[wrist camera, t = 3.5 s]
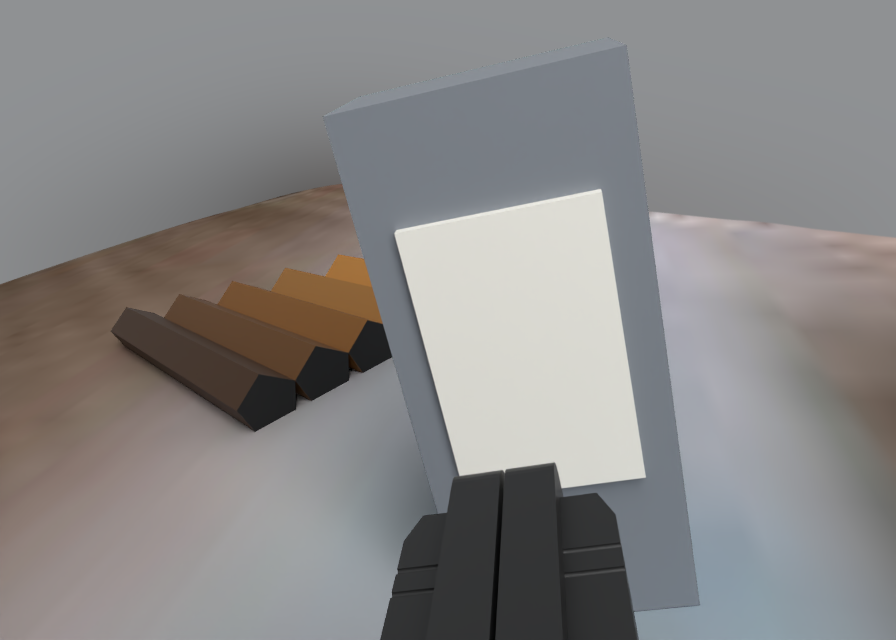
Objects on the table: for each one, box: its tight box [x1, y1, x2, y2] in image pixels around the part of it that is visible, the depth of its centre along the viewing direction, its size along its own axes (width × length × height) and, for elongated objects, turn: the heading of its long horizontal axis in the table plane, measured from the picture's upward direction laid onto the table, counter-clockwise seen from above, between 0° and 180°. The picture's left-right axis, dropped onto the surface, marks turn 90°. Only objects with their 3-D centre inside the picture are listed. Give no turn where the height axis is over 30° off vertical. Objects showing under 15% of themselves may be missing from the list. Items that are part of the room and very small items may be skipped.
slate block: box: [323, 38, 700, 611], centre depth 21 cm, size 4×7×16 cm, turn 84°
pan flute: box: [111, 255, 392, 432], centre depth 54 cm, size 25×3×25 cm
